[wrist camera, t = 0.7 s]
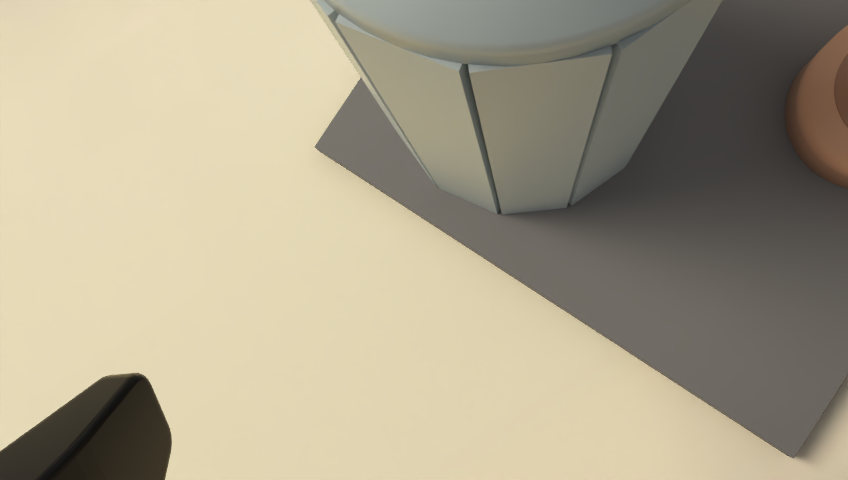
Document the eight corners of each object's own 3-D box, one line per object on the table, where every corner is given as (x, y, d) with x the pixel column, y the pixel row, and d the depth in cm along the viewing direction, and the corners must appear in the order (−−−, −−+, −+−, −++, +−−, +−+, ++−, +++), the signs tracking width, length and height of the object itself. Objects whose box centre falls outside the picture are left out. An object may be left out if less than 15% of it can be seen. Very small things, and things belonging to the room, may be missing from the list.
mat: (787, 455, 20) (793, 458, 19) (319, 151, 23) (314, 146, 22) (1056, 35, 20) (1070, 28, 20) (564, -216, 23) (565, -228, 22)
